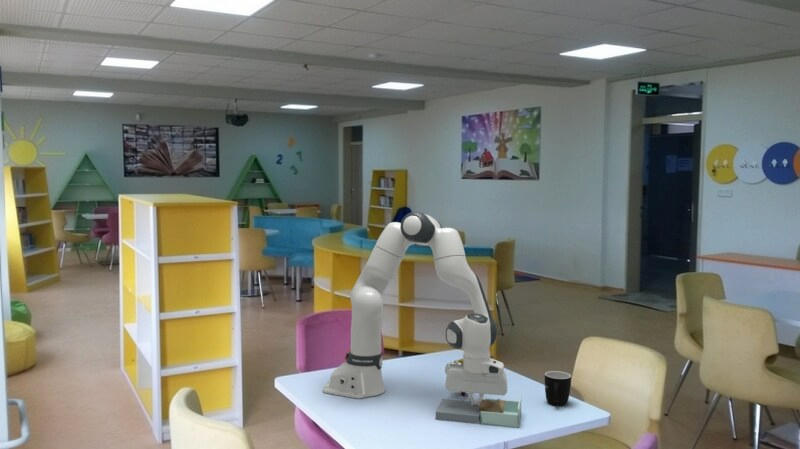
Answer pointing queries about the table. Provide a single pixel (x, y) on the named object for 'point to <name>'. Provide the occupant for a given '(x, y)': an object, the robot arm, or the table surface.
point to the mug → (557, 387)
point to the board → (458, 411)
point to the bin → (503, 415)
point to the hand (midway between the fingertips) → (475, 405)
